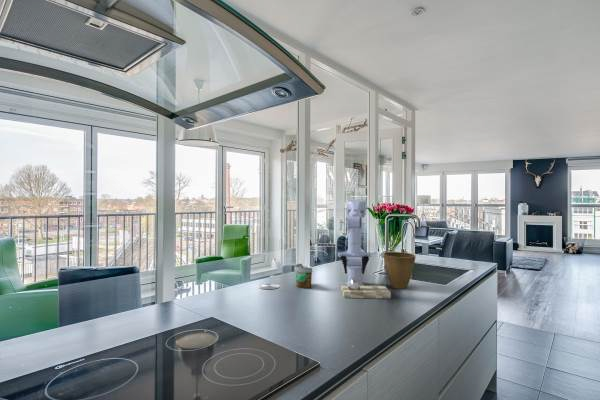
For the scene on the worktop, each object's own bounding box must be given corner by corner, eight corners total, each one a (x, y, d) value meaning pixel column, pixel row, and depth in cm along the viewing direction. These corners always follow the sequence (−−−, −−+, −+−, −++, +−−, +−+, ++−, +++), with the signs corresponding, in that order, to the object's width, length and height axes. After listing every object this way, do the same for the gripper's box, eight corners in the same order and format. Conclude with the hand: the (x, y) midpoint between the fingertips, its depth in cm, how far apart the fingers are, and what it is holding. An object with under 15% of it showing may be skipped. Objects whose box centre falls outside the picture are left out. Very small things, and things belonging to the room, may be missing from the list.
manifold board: (341, 290, 148) (341, 285, 148) (384, 291, 147) (384, 285, 147) (344, 297, 137) (344, 292, 137) (390, 298, 136) (390, 292, 136)
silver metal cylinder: (349, 293, 144) (349, 277, 144) (358, 293, 144) (358, 277, 144) (351, 295, 140) (351, 279, 140) (360, 295, 140) (360, 279, 140)
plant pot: (379, 288, 152) (380, 255, 152) (387, 281, 165) (387, 251, 165) (412, 293, 144) (412, 258, 144) (417, 285, 157) (417, 253, 157)
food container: (290, 284, 159) (290, 264, 159) (301, 283, 161) (301, 263, 161) (300, 290, 148) (300, 269, 148) (312, 289, 150) (312, 268, 150)
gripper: (339, 244, 138) (339, 275, 138) (372, 244, 138) (372, 275, 138) (337, 241, 145) (337, 271, 145) (369, 242, 145) (369, 271, 145)
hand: (354, 273), depth 142 cm, fingers open, 7 cm apart
